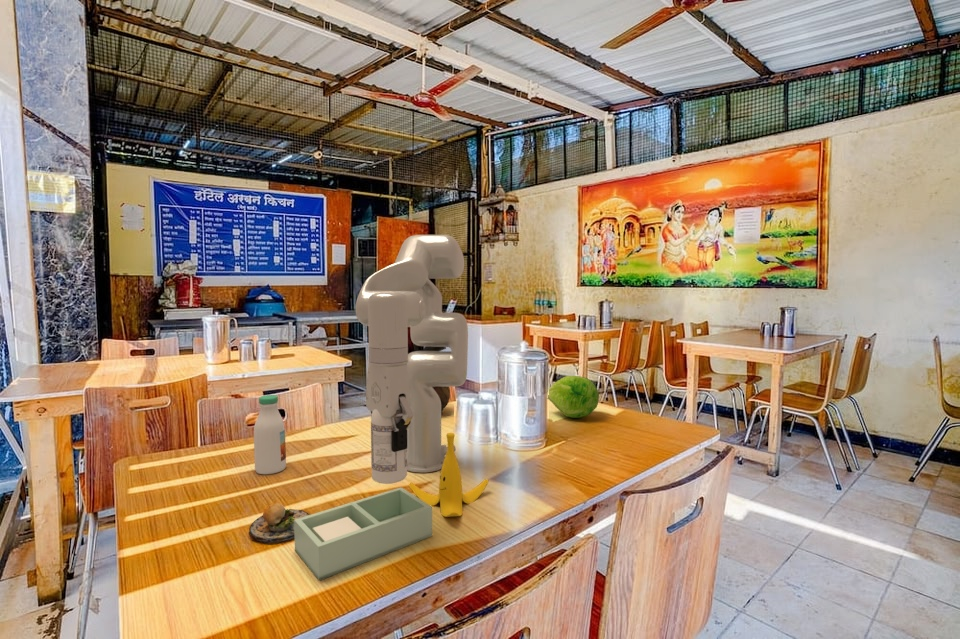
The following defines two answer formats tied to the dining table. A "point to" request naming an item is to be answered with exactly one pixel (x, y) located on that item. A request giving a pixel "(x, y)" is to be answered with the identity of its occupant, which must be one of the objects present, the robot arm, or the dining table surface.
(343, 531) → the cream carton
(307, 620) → the dining table surface
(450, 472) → the banana peel
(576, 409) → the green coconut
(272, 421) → the milk bottle
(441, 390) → the ceramic jug
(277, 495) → the dining table surface
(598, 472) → the dining table surface
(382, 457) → the bath foam
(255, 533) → the burger
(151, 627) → the dining table surface
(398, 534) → the box
